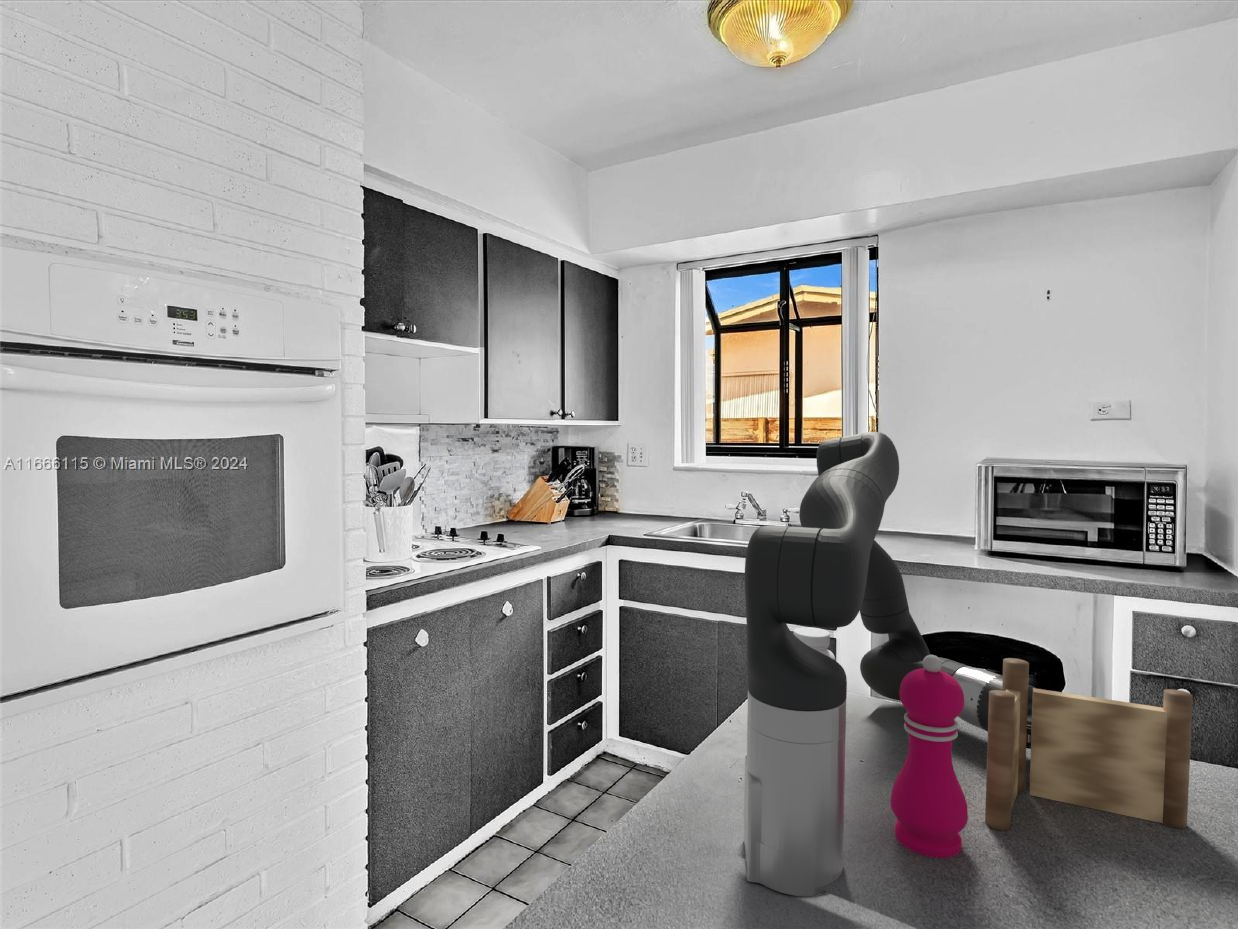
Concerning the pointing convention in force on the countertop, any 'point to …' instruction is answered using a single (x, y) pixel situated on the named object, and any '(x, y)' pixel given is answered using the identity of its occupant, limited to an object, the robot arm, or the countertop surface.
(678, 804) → the countertop surface
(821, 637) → the supplement bottle
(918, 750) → the pepper mill
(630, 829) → the countertop surface
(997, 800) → the fixed panel
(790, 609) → the robot arm
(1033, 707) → the swing panel
